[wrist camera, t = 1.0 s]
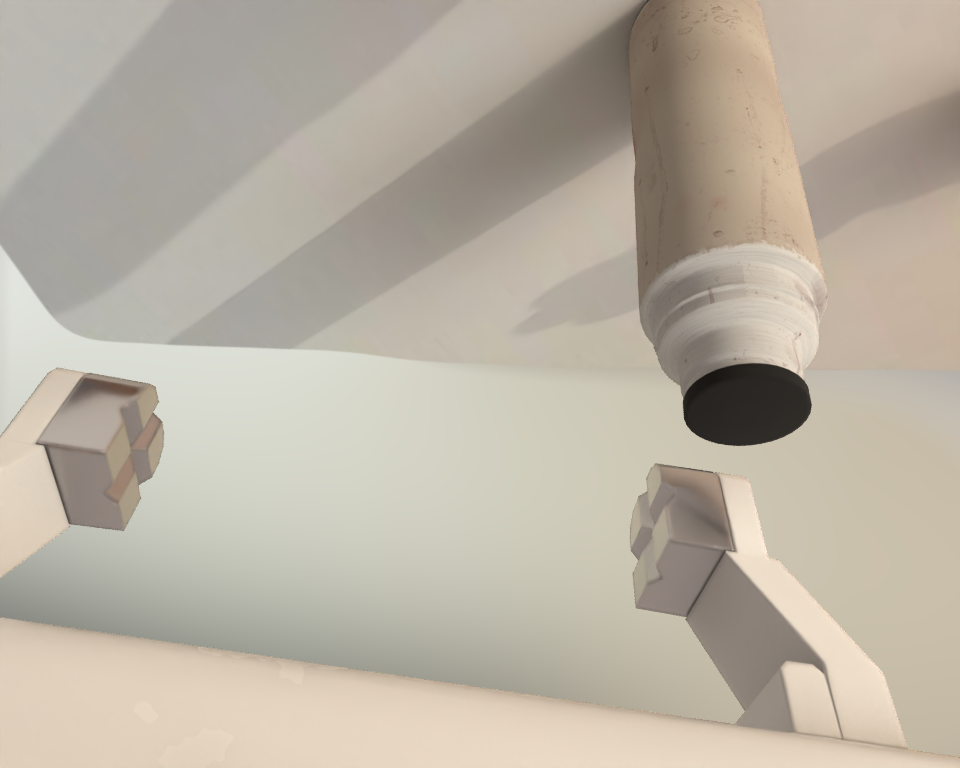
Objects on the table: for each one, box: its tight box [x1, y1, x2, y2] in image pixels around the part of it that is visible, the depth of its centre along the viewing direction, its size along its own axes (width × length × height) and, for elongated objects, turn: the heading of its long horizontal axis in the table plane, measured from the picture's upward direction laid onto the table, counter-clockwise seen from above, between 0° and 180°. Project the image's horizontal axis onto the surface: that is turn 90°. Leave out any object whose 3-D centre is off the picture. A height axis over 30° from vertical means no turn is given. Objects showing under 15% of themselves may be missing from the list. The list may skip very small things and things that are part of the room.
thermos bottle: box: [629, 0, 828, 446], centre depth 40 cm, size 8×8×28 cm
